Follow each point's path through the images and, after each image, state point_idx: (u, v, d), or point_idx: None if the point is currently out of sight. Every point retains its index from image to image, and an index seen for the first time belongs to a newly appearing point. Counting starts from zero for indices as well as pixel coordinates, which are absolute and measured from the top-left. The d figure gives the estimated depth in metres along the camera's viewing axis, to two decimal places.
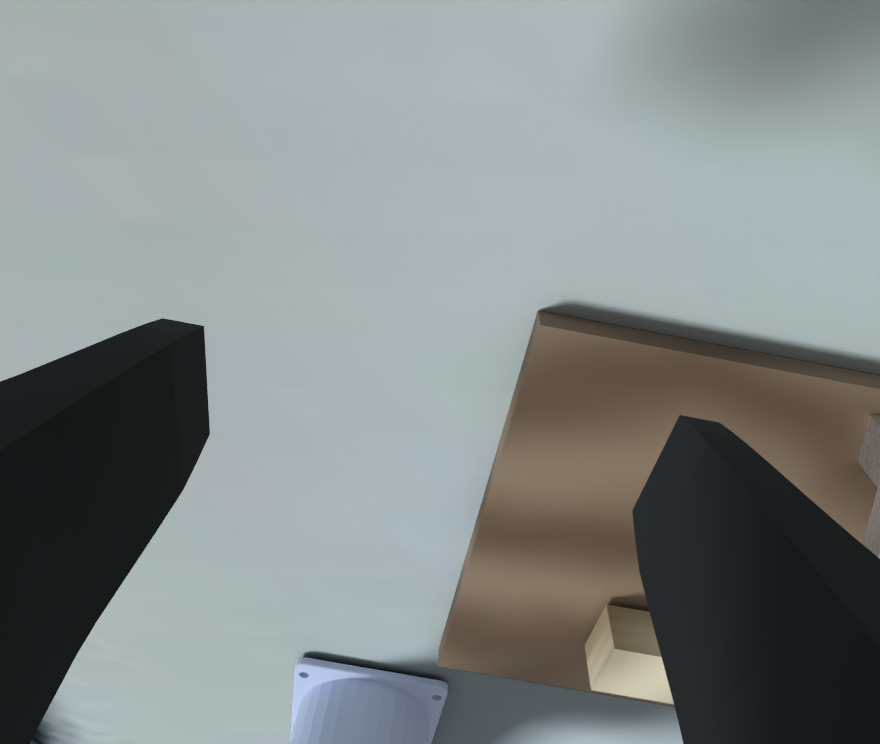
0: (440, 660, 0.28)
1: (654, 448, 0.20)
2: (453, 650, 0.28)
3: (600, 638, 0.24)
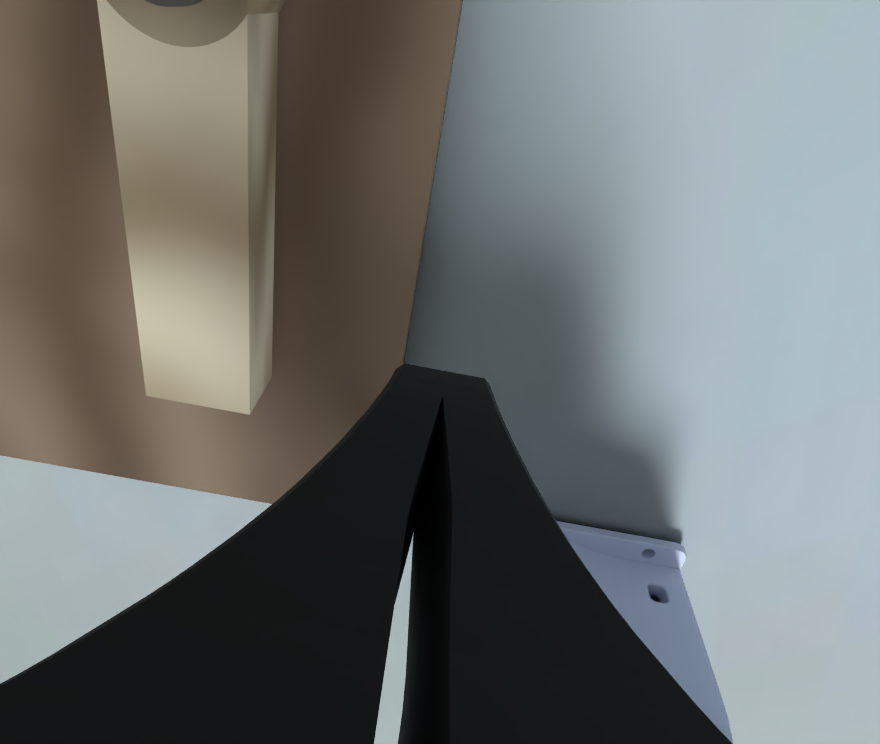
0: None
1: None
2: None
3: None
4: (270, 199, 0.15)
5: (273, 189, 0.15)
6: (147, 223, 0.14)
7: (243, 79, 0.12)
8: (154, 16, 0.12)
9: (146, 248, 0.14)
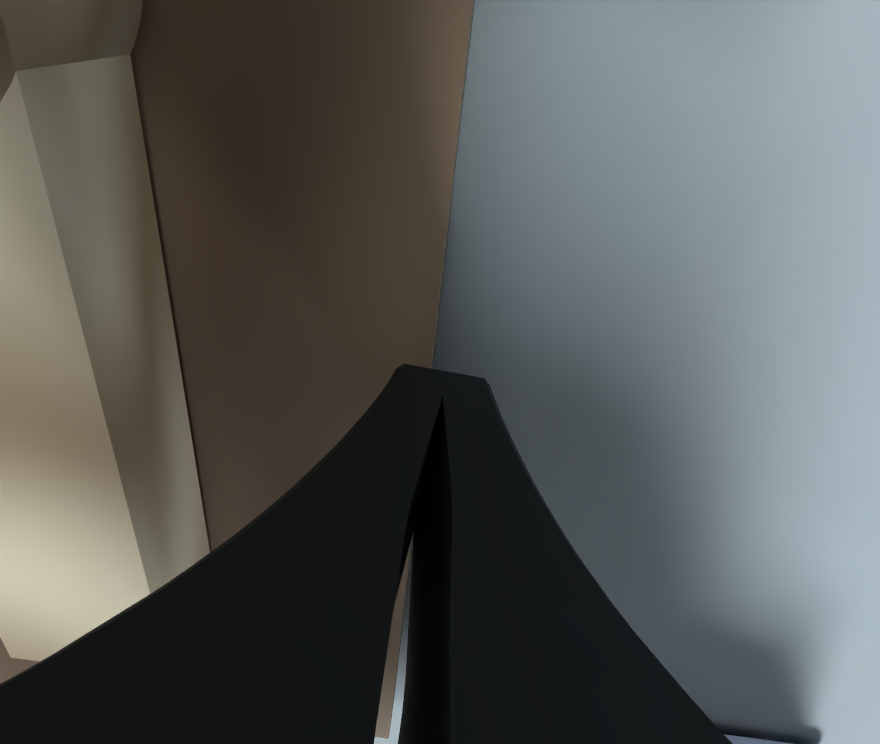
0: None
1: None
2: None
3: None
4: (166, 364, 0.09)
5: (171, 345, 0.09)
6: None
7: (39, 199, 0.06)
8: None
9: None
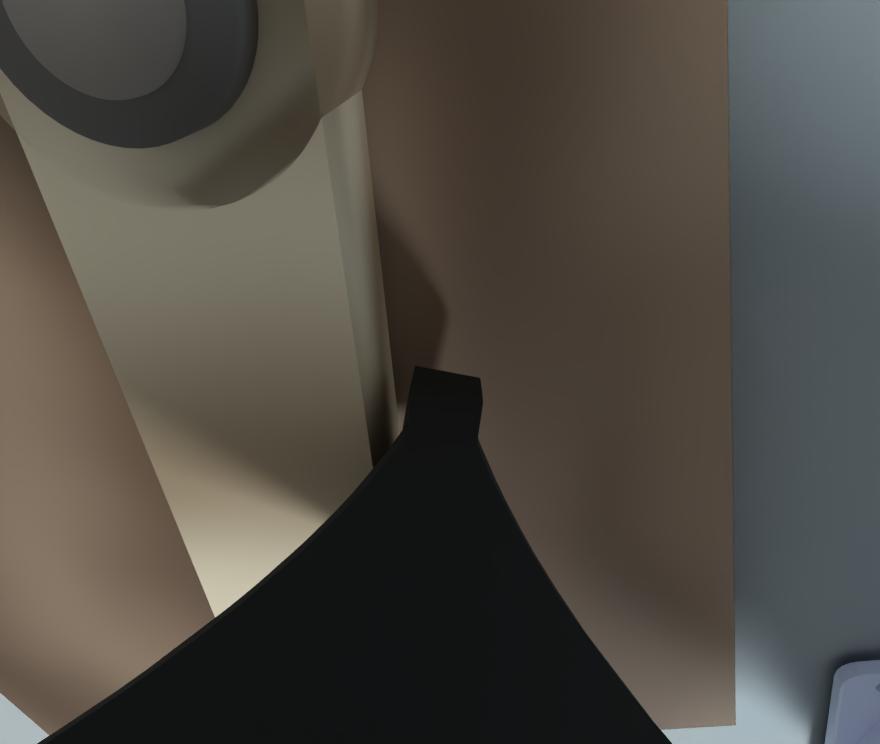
0: (714, 725, 0.14)
1: (96, 658, 0.15)
2: (672, 718, 0.14)
3: None
4: (390, 394, 0.09)
5: (391, 374, 0.09)
6: (203, 494, 0.08)
7: (331, 243, 0.06)
8: (140, 165, 0.06)
9: (209, 528, 0.08)
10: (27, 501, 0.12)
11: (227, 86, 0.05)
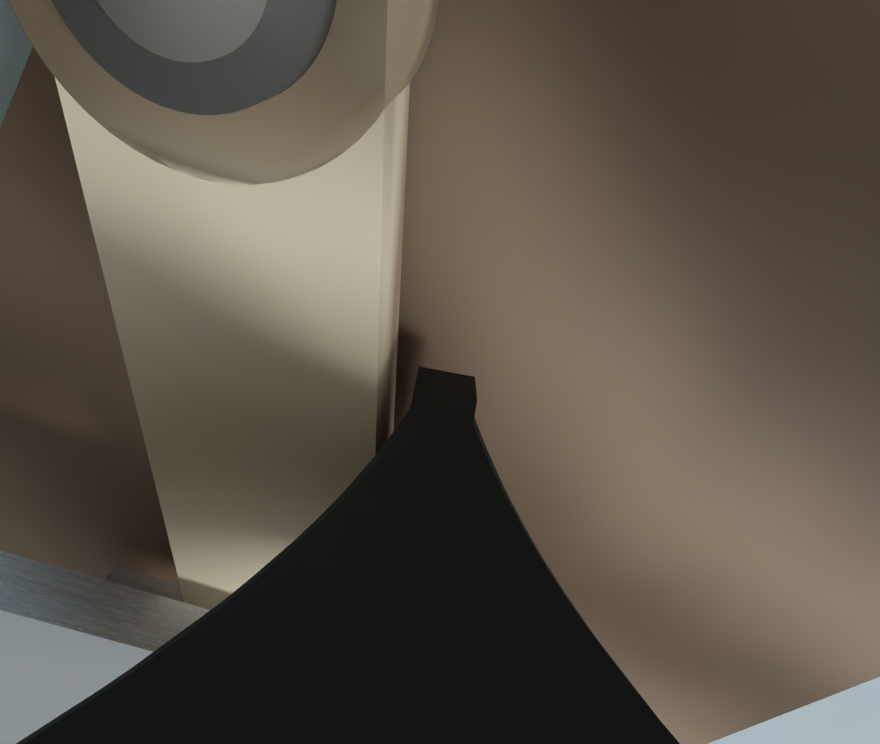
0: None
1: None
2: None
3: None
4: (392, 390, 0.09)
5: (395, 371, 0.09)
6: (194, 474, 0.08)
7: (373, 235, 0.06)
8: (184, 130, 0.05)
9: (193, 509, 0.08)
10: None
11: (298, 63, 0.05)
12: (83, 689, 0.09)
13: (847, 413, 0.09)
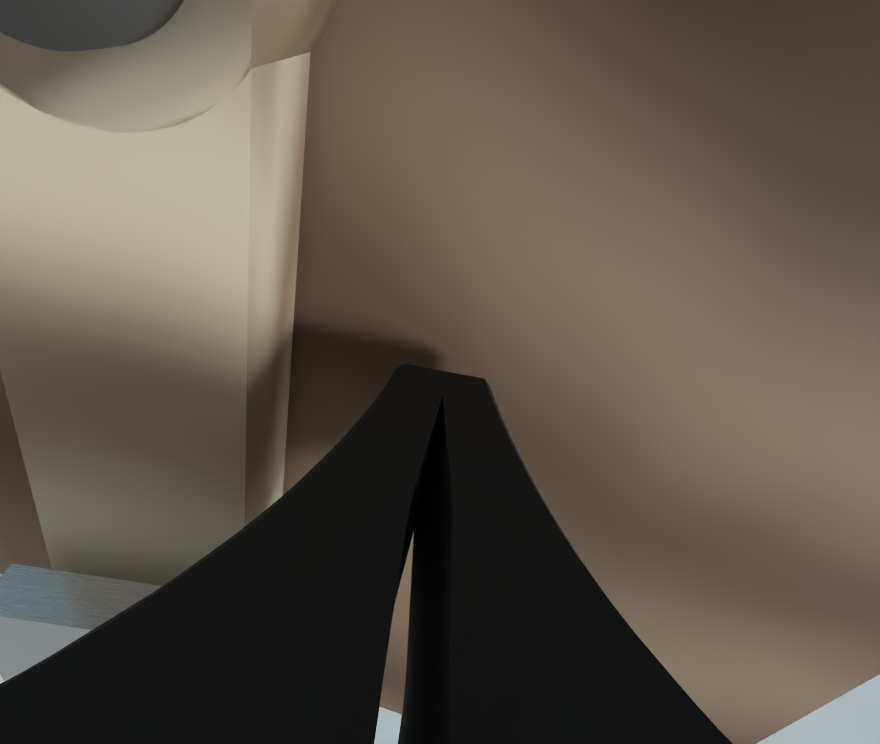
0: None
1: None
2: None
3: None
4: (284, 366, 0.09)
5: (289, 347, 0.09)
6: (57, 431, 0.08)
7: (240, 199, 0.06)
8: (43, 66, 0.05)
9: (59, 468, 0.08)
10: None
11: (151, 8, 0.05)
12: None
13: None
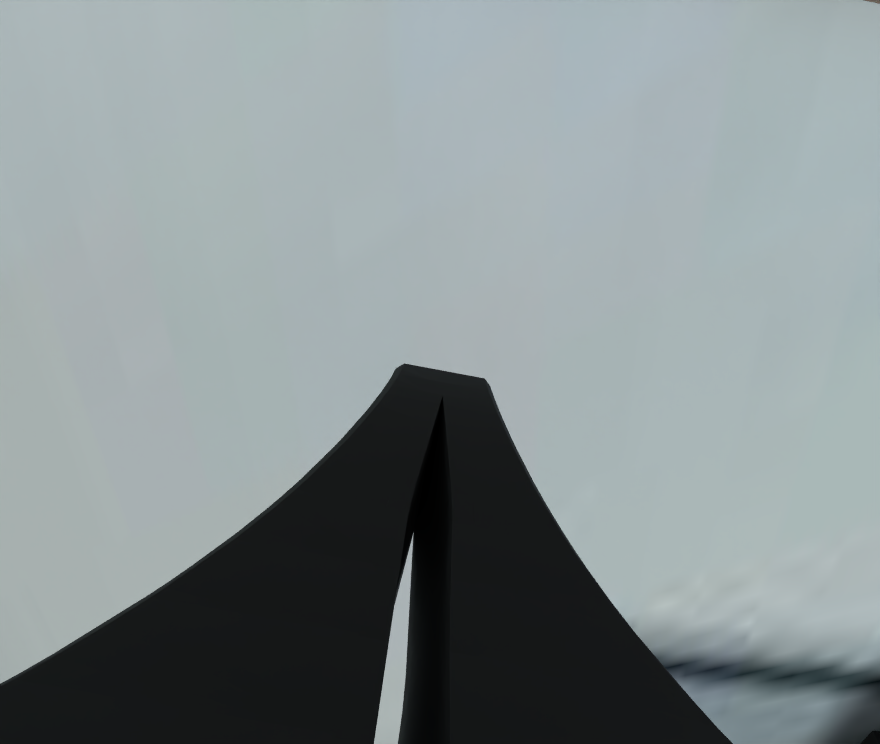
0: None
1: None
2: None
3: None
4: None
5: None
6: None
7: None
8: None
9: None
10: None
11: None
12: None
13: None
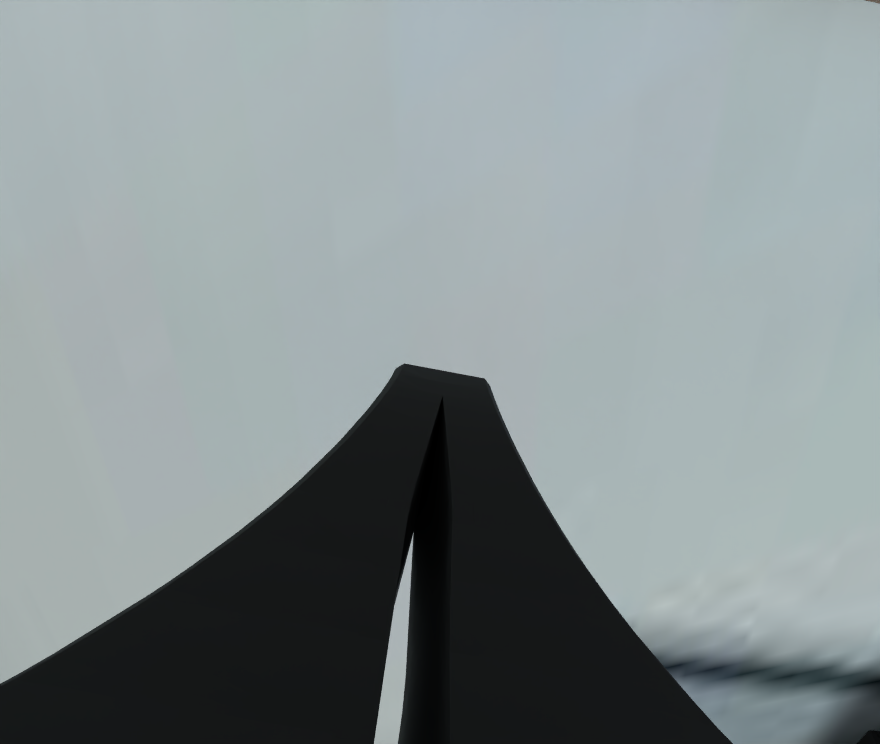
0: None
1: None
2: None
3: None
4: None
5: None
6: None
7: None
8: None
9: None
10: None
11: None
12: None
13: None
